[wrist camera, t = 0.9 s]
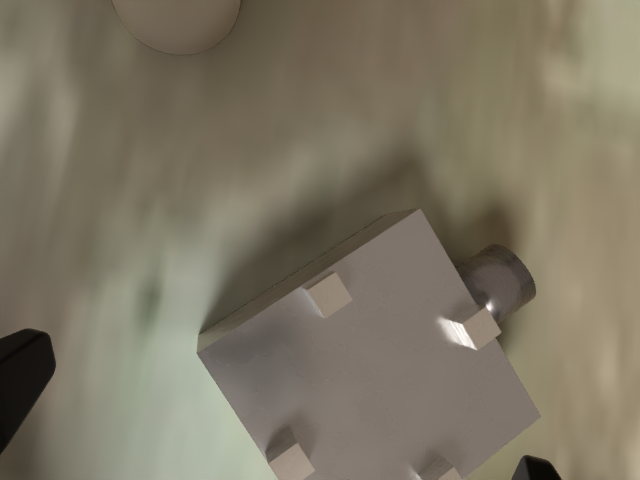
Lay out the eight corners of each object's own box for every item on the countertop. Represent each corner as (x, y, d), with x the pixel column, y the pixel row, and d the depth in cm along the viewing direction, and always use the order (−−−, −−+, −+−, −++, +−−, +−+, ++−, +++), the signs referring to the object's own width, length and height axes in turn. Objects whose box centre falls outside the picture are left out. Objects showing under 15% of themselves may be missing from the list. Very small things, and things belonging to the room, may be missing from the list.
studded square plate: (318, 520, 23) (349, 593, 18) (198, 335, 22) (196, 359, 17) (534, 355, 26) (612, 380, 21) (435, 182, 25) (492, 165, 20)
